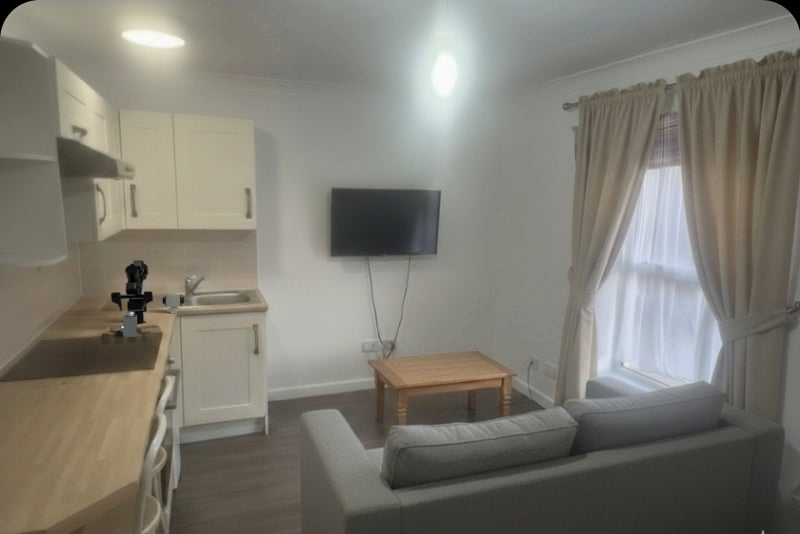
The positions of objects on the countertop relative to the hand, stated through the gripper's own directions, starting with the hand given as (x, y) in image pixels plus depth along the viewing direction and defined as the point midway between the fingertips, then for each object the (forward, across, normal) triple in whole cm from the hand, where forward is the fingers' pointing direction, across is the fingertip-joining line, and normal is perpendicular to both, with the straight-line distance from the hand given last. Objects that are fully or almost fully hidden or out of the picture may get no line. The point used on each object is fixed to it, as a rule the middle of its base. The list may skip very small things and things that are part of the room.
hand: (131, 310), depth 256 cm
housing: (+12, 0, +4) cm, 13 cm away
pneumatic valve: (-24, +17, +40) cm, 50 cm away
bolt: (+5, -7, +11) cm, 14 cm away
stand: (+6, +8, +10) cm, 14 cm away
